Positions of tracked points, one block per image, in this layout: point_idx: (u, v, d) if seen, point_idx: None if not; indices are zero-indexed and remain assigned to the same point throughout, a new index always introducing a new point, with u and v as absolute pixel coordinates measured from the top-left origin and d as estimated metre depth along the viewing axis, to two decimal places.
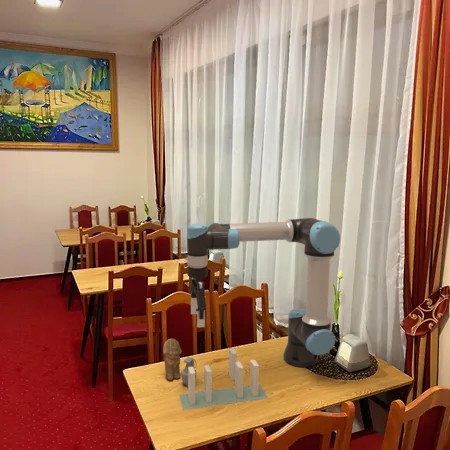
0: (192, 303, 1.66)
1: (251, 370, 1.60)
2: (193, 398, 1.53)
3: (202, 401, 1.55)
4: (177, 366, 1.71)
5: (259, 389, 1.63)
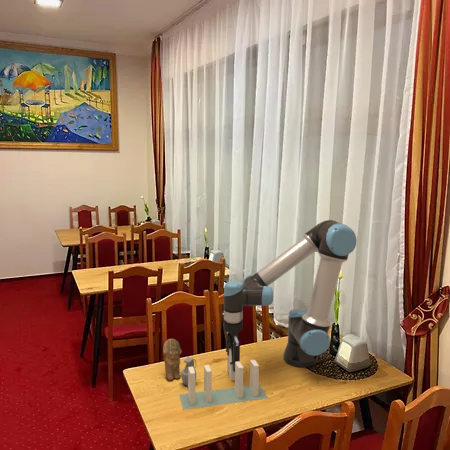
0: None
1: (251, 370, 1.60)
2: (193, 398, 1.53)
3: (202, 401, 1.55)
4: (177, 366, 1.71)
5: (259, 389, 1.63)
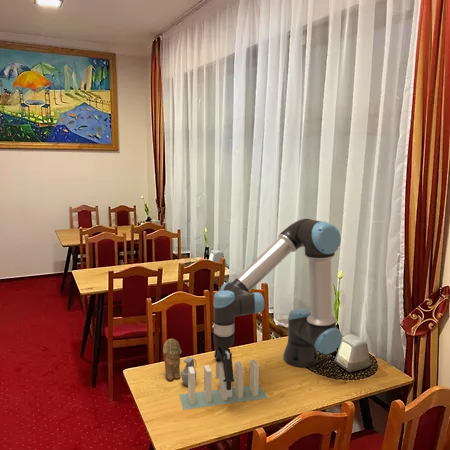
0: (217, 368, 1.63)
1: (251, 370, 1.60)
2: (193, 398, 1.53)
3: (202, 401, 1.55)
4: (177, 366, 1.71)
5: (259, 389, 1.63)
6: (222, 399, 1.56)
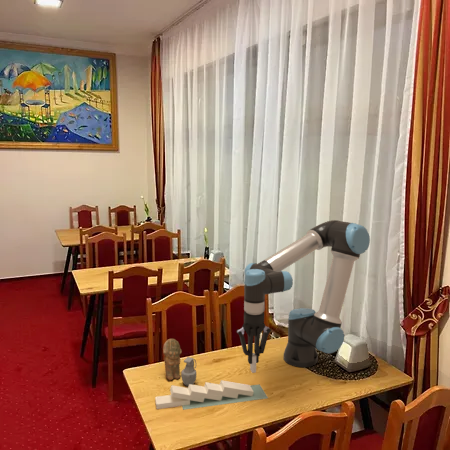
0: None
1: None
2: (183, 402, 1.52)
3: None
4: (177, 366, 1.71)
5: (259, 389, 1.63)
6: (220, 400, 1.55)
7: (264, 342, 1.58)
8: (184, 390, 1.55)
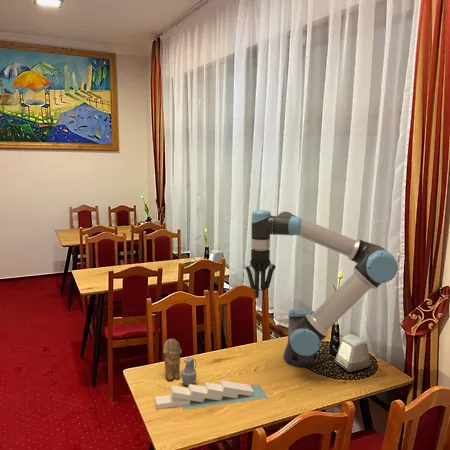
0: None
1: None
2: (183, 402, 1.52)
3: None
4: (177, 366, 1.71)
5: (259, 389, 1.63)
6: (220, 400, 1.55)
7: (269, 277, 1.72)
8: (184, 390, 1.55)
